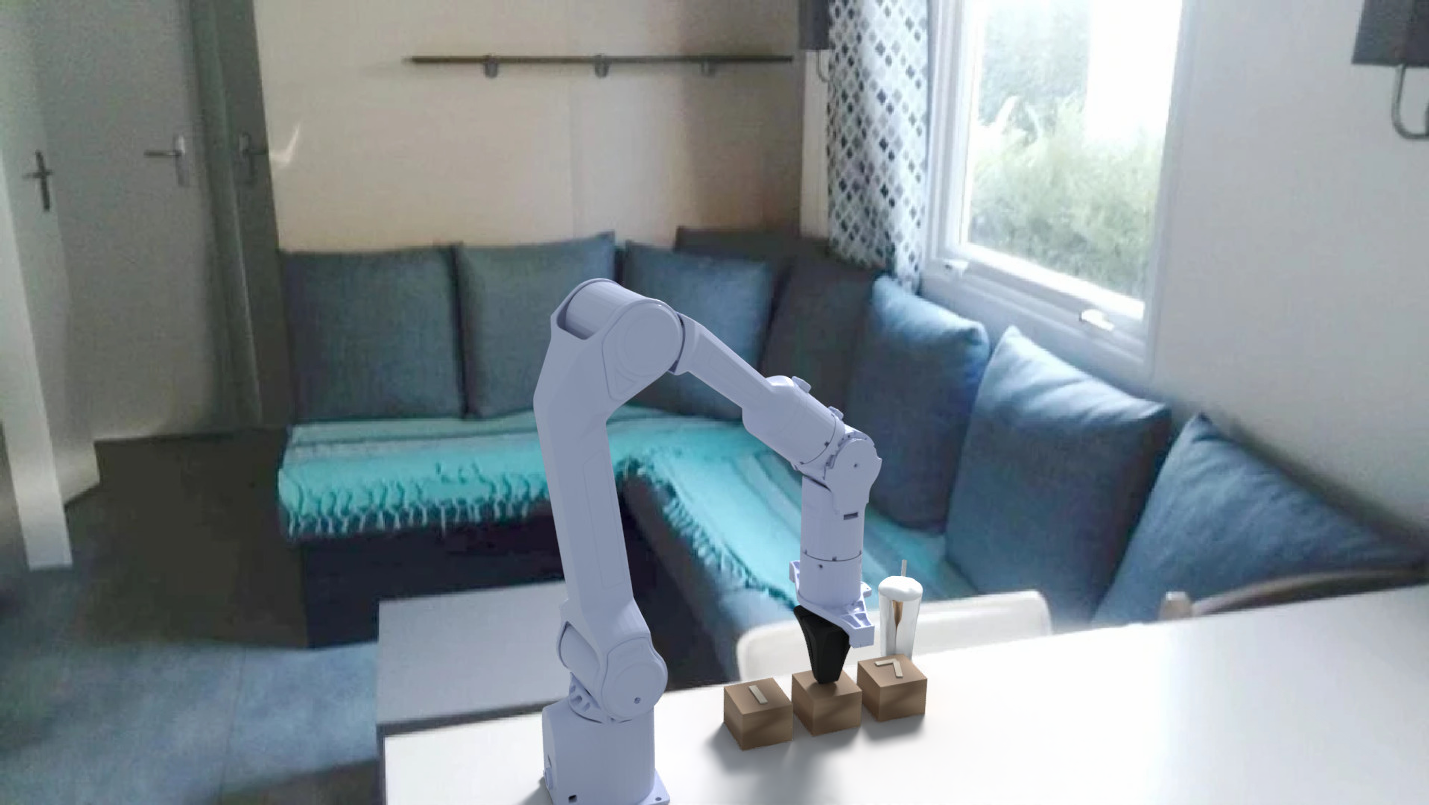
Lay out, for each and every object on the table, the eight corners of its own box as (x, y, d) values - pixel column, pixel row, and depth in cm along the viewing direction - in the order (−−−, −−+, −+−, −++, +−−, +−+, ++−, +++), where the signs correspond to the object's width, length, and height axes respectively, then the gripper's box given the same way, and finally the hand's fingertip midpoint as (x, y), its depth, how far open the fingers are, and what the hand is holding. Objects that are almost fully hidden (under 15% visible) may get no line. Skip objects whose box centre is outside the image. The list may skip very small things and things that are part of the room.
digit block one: (742, 752, 105) (742, 712, 104) (723, 723, 110) (723, 685, 109) (792, 742, 107) (793, 702, 106) (771, 713, 111) (772, 676, 110)
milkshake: (921, 647, 124) (926, 562, 120) (915, 672, 119) (921, 584, 116) (878, 641, 125) (883, 557, 122) (871, 665, 120) (876, 578, 117)
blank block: (812, 738, 108) (813, 700, 106) (790, 710, 112) (791, 673, 111) (860, 727, 109) (862, 690, 108) (837, 700, 114) (838, 664, 113)
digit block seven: (878, 724, 110) (880, 685, 109) (855, 696, 114) (857, 659, 113) (925, 714, 111) (927, 677, 110) (900, 688, 116) (903, 651, 115)
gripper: (908, 575, 100) (900, 711, 104) (837, 513, 113) (832, 636, 117) (834, 587, 98) (829, 725, 102) (770, 522, 111) (767, 647, 115)
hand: (826, 679), depth 109 cm, fingers closed
